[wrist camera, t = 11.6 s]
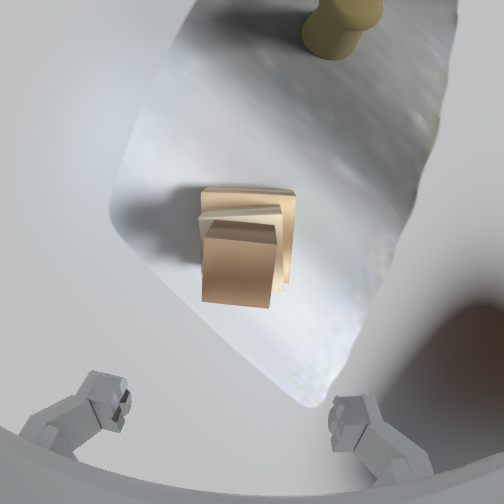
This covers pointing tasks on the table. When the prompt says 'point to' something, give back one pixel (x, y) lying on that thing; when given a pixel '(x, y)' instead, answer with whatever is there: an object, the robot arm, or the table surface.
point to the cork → (339, 26)
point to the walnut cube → (239, 263)
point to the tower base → (253, 197)
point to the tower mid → (251, 215)
